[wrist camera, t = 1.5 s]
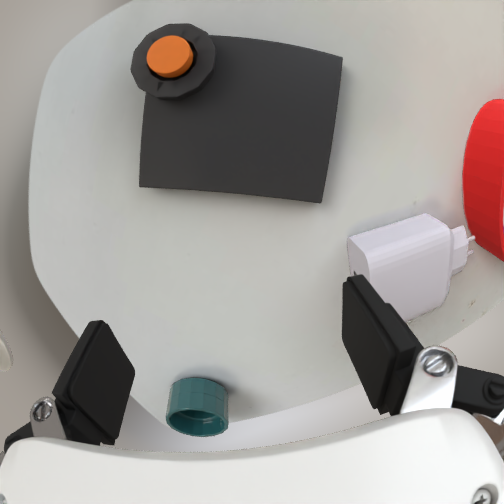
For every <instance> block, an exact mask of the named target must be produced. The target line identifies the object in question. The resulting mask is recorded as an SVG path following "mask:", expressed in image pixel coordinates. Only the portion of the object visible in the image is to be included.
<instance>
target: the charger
mask: <svg viewBox="0 0 504 504" xmlns="http://www.w3.org/2000/svg"><path fill="white" fill-rule="evenodd" d="M473 240H475V236H474V235H473V236H471V237H469V238H467V235H466V230H465V228H464V226H463V225H462V226H459V227H456V228H454V229H451V230H450V228H449V227H448V226H447V225H446V224H445V223H443V222H441V221H439V220H438V219H436V218H434V217H432V216H430V215H429V214H427V213H424V214H421V215H418V216H414V217H411V218H408V219H405V220H402V221H399V222H396V223H392V224H389V225H386V226H383V227H380V228H376V229H373V230H370V231H367V232H364V233H360V234H357V235H354V236H351V237H348V238H347V248H348V256H349V264H350V272H351V276H355V275H360V274H363V275H364V276H365V278H366V279H367V280H368V281H369V283H370V284H371V285H372V286H373V288H374V289H375V290H376V292H377V293H378V294H379V295H380V297H381V298H382V299H383V301H384V302H385V303H390V304H391V305H392V306H393V307H394V309H395V310H396V311H397V313H398V314H399V315H400V316H401V318H402V319H403V320H404V322H407V321H409V320H412V319H414V318H416V317H418V316H420V315H422V314H425V313H427V312H429V311H431V310H433V309H435V308H437V307H439V306H441V305H442V304H443V302H444V301H445V299H446V297H447V295H448V293H449V287H450V280H451V276H453V275H455V274H457V273H459V272H461V271H462V270H463V268H464V266H465V265H466V262H467V256H469V255H471V254H473V253H474V251H473V249H472V250H470V251H468V243H469V242H471V241H473Z"/></svg>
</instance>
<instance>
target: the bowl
mask: <svg viewBox="0 0 504 504" xmlns="http://www.w3.org/2000/svg"><path fill="white" fill-rule="evenodd" d="M166 421H167V424H168V425H169V426H170V427H171V428H172V429H174V430H176V431H178V432H180V433H183V434H186V435H191V436H199V437H208V436H215V435H218V434H221V433H223V432H224V431H225V430H226V429H227V428H228V393H227V392H226V390H225V389H224V388H223V387H222V386H221V385H219V384H218V383H216V382H214V381H210V380H207V379H204V378H186V379H181V380H179V381H177V382H175V383H174V384H173V385H172V387H171V389H170V393H169V399H168V405H167V412H166Z"/></svg>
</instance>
